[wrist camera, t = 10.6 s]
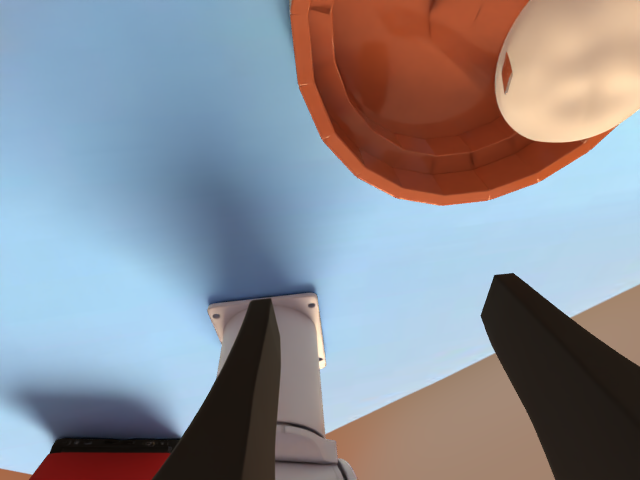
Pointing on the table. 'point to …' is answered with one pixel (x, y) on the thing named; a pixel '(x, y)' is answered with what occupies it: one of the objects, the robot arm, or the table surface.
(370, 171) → the bowl
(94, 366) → the table surface
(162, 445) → the handheld console
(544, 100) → the milkshake
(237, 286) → the table surface
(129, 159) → the table surface
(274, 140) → the table surface
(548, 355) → the robot arm
